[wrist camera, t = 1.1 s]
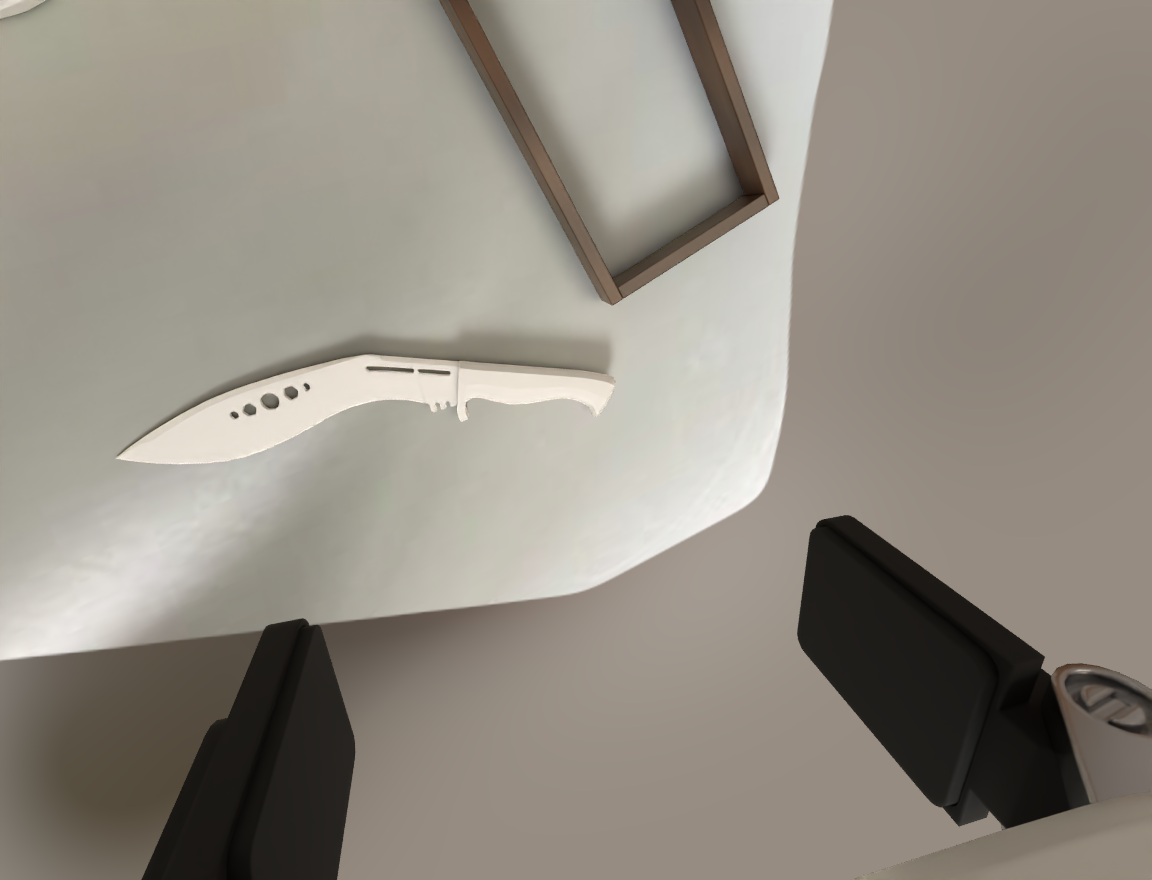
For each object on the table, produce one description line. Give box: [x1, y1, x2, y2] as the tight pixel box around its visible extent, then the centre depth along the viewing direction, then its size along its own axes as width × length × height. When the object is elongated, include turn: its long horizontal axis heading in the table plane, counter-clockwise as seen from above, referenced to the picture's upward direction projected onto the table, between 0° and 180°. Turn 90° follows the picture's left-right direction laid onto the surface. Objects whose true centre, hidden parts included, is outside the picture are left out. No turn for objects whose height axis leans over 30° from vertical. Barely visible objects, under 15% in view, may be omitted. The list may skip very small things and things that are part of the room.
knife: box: [116, 354, 615, 464], centre depth 35 cm, size 30×2×8 cm
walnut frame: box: [439, 0, 779, 305], centre depth 30 cm, size 24×12×2 cm, turn 30°
